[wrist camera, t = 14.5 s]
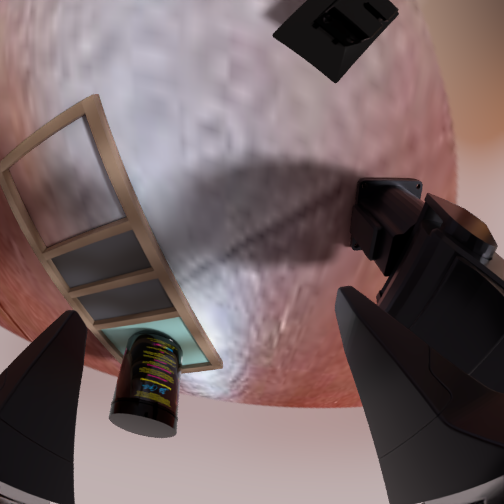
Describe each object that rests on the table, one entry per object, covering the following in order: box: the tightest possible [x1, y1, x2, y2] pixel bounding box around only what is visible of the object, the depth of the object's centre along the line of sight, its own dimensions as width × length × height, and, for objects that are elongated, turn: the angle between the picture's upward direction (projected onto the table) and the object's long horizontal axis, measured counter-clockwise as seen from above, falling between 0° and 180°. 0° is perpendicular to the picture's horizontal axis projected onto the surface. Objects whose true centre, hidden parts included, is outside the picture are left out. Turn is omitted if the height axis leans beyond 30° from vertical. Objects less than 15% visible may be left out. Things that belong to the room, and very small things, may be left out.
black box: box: [273, 0, 399, 83], centre depth 11 cm, size 12×7×5 cm, turn 144°
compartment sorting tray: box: [0, 94, 223, 374], centre depth 23 cm, size 31×13×1 cm, turn 14°
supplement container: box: [109, 330, 183, 438], centre depth 24 cm, size 7×7×10 cm
